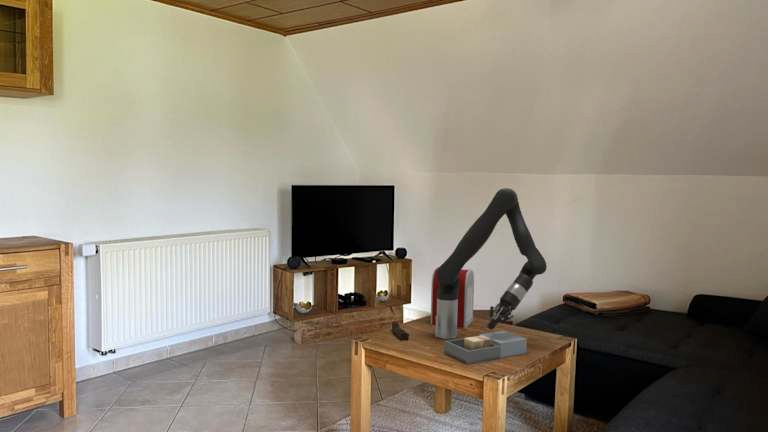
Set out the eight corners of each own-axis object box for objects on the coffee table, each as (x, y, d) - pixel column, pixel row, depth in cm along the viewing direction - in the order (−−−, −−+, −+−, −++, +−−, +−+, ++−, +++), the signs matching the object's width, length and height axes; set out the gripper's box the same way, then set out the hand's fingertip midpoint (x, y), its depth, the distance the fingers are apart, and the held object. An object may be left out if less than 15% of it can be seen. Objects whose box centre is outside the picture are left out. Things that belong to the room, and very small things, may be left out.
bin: (475, 348, 254) (476, 336, 253) (500, 358, 240) (500, 346, 239) (444, 353, 246) (444, 341, 246) (467, 364, 232) (468, 351, 232)
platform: (504, 344, 260) (504, 330, 259) (526, 353, 248) (526, 338, 247) (478, 348, 253) (478, 334, 253) (499, 357, 241) (500, 343, 240)
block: (481, 335, 248) (464, 338, 243) (491, 339, 242) (473, 341, 238) (481, 349, 248) (463, 352, 244) (490, 353, 243) (473, 356, 239)
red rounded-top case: (439, 316, 307) (440, 264, 305) (473, 320, 301) (475, 267, 299) (430, 324, 292) (431, 269, 290) (465, 328, 286) (467, 272, 284)
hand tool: (409, 341, 263) (409, 331, 263) (400, 341, 262) (400, 331, 262) (398, 330, 281) (398, 320, 281) (390, 330, 281) (390, 320, 280)
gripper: (498, 287, 255) (474, 318, 251) (519, 293, 244) (494, 326, 239) (507, 298, 258) (484, 330, 253) (528, 305, 247) (504, 337, 242)
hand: (489, 328), depth 246 cm, fingers closed
